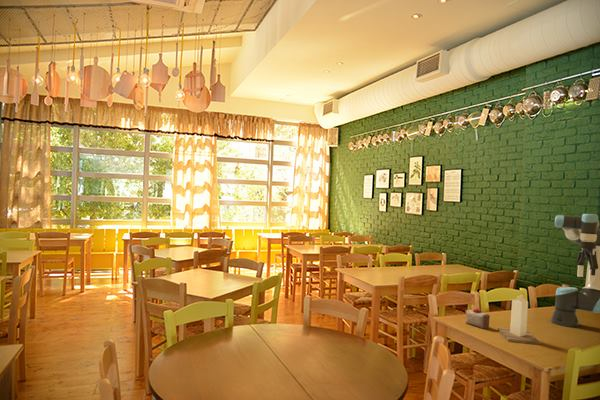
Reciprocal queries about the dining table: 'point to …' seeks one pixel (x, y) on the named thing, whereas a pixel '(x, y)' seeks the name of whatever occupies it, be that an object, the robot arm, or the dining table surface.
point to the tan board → (513, 338)
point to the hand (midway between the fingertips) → (585, 278)
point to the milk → (519, 316)
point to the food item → (477, 318)
